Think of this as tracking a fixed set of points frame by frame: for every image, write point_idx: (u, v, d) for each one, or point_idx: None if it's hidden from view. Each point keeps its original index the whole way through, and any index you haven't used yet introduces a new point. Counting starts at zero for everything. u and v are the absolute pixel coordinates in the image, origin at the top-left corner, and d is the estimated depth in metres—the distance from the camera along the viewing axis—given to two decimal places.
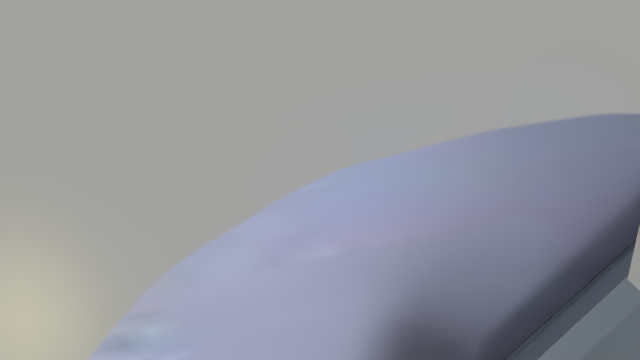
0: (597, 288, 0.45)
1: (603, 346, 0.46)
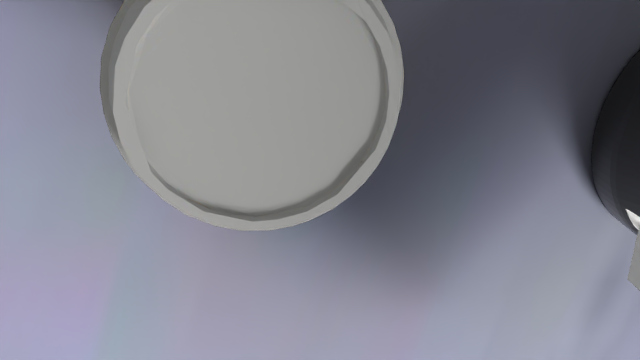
0: None
1: None
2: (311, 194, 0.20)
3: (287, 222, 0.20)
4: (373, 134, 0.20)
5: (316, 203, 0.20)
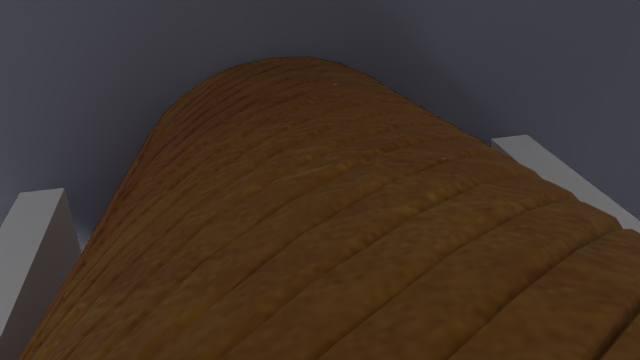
0: None
1: None
2: None
3: None
4: None
5: None
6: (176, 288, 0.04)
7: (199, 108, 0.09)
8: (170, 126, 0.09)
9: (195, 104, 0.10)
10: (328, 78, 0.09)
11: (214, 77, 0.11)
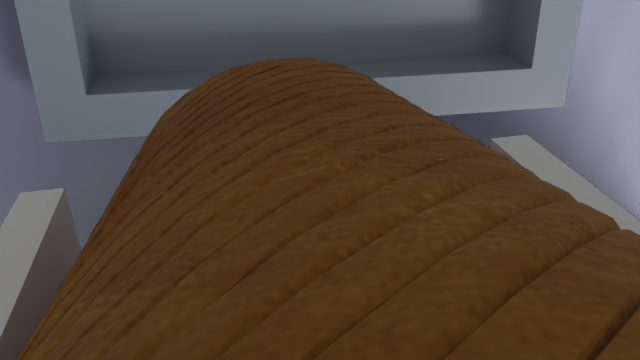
0: None
1: None
2: None
3: None
4: None
5: None
6: (174, 287, 0.04)
7: (198, 108, 0.09)
8: (169, 126, 0.09)
9: (194, 104, 0.10)
10: (327, 78, 0.09)
11: (213, 77, 0.11)
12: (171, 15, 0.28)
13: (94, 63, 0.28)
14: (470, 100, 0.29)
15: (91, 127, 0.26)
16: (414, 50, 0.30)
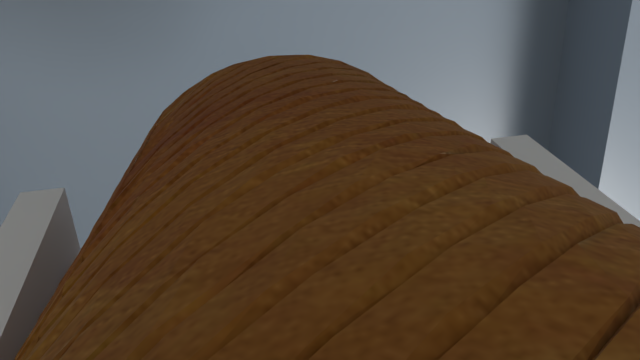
0: None
1: (3, 217, 0.19)
2: None
3: None
4: None
5: None
6: (176, 279, 0.04)
7: (198, 105, 0.09)
8: (169, 123, 0.09)
9: (195, 101, 0.10)
10: (328, 75, 0.09)
11: (214, 74, 0.11)
12: None
13: None
14: None
15: None
16: None
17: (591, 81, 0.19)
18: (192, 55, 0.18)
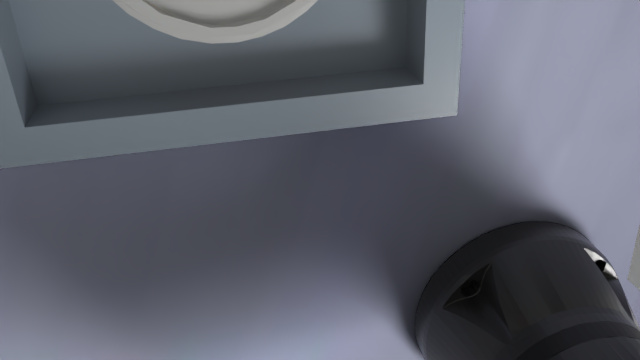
0: None
1: None
2: (269, 3, 0.20)
3: (245, 30, 0.20)
4: None
5: (274, 12, 0.20)
6: None
7: None
8: None
9: None
10: None
11: None
12: (99, 49, 0.31)
13: (34, 95, 0.32)
14: (370, 114, 0.32)
15: (32, 154, 0.30)
16: (323, 68, 0.34)
17: None
18: None
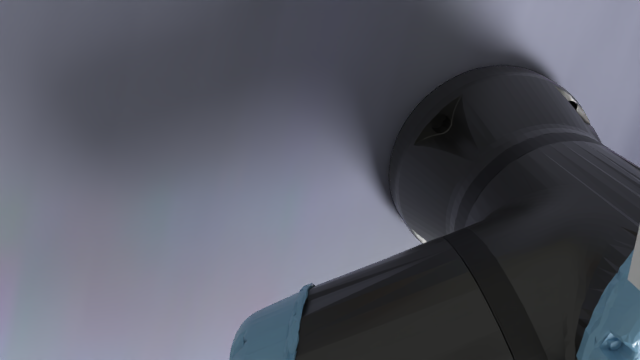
0: None
1: None
2: None
3: None
4: None
5: None
6: None
7: None
8: None
9: None
10: None
11: None
12: None
13: None
14: None
15: None
16: None
17: None
18: None
